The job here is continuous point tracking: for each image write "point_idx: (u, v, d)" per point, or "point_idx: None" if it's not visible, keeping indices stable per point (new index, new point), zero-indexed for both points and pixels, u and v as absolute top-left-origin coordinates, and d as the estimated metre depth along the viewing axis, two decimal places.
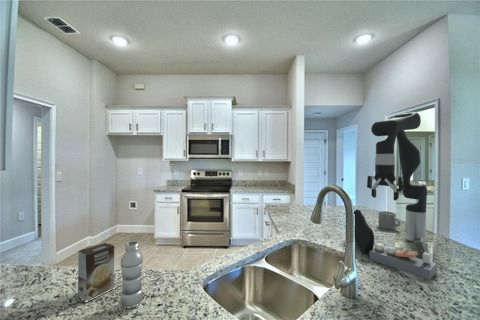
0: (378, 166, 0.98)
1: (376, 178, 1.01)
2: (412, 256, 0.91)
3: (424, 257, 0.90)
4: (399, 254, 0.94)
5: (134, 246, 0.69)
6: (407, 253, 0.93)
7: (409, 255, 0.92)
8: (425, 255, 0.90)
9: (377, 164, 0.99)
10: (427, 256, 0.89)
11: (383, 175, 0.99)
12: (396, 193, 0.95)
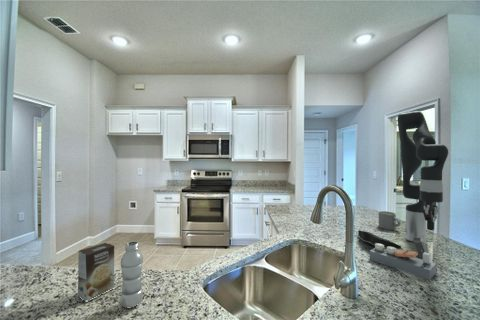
0: (441, 194, 0.90)
1: (432, 207, 0.91)
2: (412, 256, 0.91)
3: (424, 257, 0.90)
4: (399, 254, 0.94)
5: (134, 246, 0.69)
6: (407, 253, 0.93)
7: (409, 255, 0.92)
8: (425, 255, 0.90)
9: (440, 192, 0.90)
10: (427, 256, 0.89)
11: (434, 202, 0.93)
12: (433, 222, 0.94)
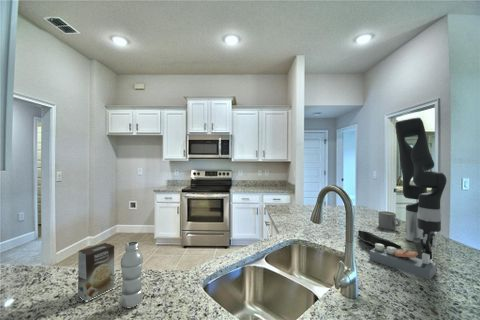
0: (439, 223, 0.88)
1: (430, 236, 0.89)
2: (412, 256, 0.91)
3: (423, 258, 0.89)
4: (399, 254, 0.94)
5: (134, 246, 0.69)
6: (407, 253, 0.93)
7: (409, 255, 0.92)
8: (424, 256, 0.89)
9: (438, 221, 0.88)
10: (426, 257, 0.89)
11: (432, 231, 0.91)
12: (431, 251, 0.92)
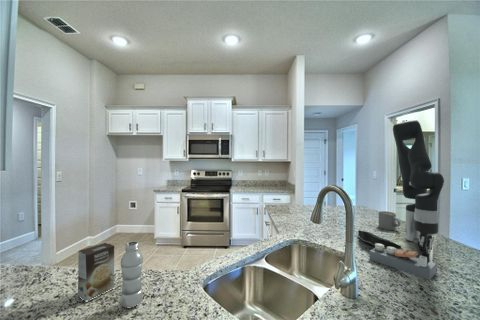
0: (436, 225, 0.85)
1: (427, 239, 0.86)
2: (412, 256, 0.91)
3: (420, 260, 0.87)
4: (399, 254, 0.94)
5: (134, 246, 0.69)
6: (407, 253, 0.93)
7: (409, 255, 0.92)
8: (421, 258, 0.87)
9: (435, 223, 0.85)
10: (423, 259, 0.86)
11: (429, 233, 0.88)
12: None
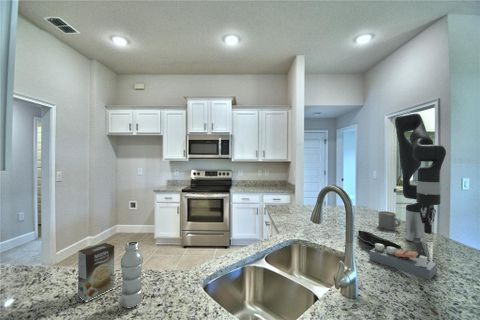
0: (438, 196, 0.87)
1: (429, 210, 0.88)
2: (412, 256, 0.91)
3: (420, 260, 0.87)
4: (399, 254, 0.94)
5: (134, 246, 0.69)
6: (407, 253, 0.93)
7: (409, 255, 0.92)
8: (421, 258, 0.87)
9: (437, 194, 0.87)
10: (423, 259, 0.86)
11: (431, 205, 0.90)
12: None
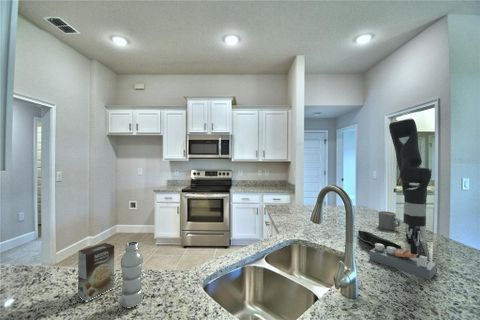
0: (424, 218, 0.89)
1: (415, 231, 0.89)
2: (412, 256, 0.91)
3: (420, 260, 0.87)
4: (399, 254, 0.94)
5: (134, 246, 0.69)
6: (407, 253, 0.93)
7: (409, 255, 0.92)
8: (421, 258, 0.87)
9: (423, 216, 0.88)
10: (423, 259, 0.86)
11: (417, 226, 0.91)
12: None
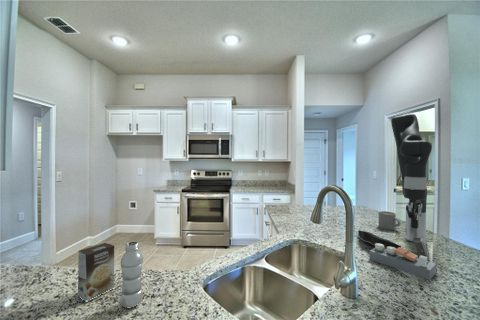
0: (424, 191, 0.88)
1: (415, 205, 0.89)
2: (412, 259, 0.91)
3: (420, 260, 0.87)
4: (399, 252, 0.94)
5: (134, 246, 0.69)
6: (408, 254, 0.93)
7: (409, 257, 0.91)
8: (421, 258, 0.87)
9: (423, 189, 0.88)
10: (423, 259, 0.86)
11: (418, 200, 0.91)
12: (417, 220, 0.92)
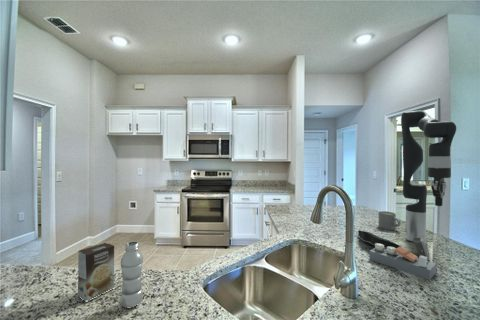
0: (449, 169, 0.92)
1: (440, 183, 0.93)
2: (412, 260, 0.91)
3: (420, 260, 0.87)
4: (399, 252, 0.94)
5: (134, 246, 0.69)
6: (408, 255, 0.93)
7: (409, 258, 0.91)
8: (421, 258, 0.87)
9: (448, 168, 0.92)
10: (423, 259, 0.86)
11: (442, 179, 0.94)
12: None
